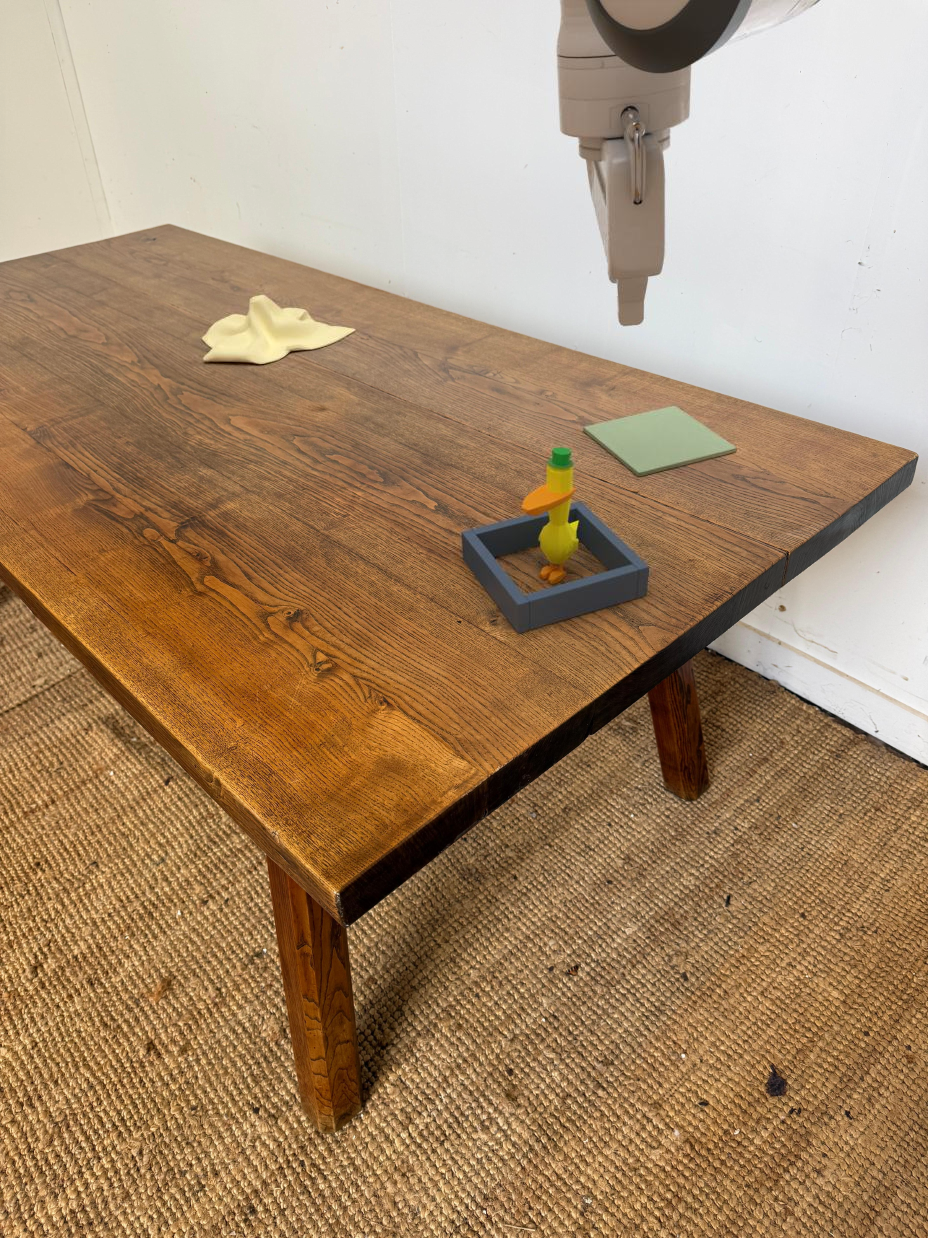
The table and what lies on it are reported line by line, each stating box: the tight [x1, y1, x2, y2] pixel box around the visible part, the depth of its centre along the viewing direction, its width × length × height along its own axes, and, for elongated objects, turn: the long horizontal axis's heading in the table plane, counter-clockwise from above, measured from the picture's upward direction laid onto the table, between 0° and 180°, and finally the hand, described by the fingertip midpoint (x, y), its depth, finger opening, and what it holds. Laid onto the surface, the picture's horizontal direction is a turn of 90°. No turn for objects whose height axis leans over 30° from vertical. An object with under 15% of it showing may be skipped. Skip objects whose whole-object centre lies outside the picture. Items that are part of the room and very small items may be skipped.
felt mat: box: [582, 405, 738, 477], centre depth 96 cm, size 12×12×1 cm
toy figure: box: [520, 446, 580, 585], centre depth 74 cm, size 7×4×12 cm, turn 133°
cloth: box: [201, 294, 356, 365], centre depth 126 cm, size 22×19×6 cm
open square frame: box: [460, 500, 650, 635], centre depth 76 cm, size 12×12×3 cm
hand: (624, 299), depth 68 cm, fingers open, 8 cm apart
